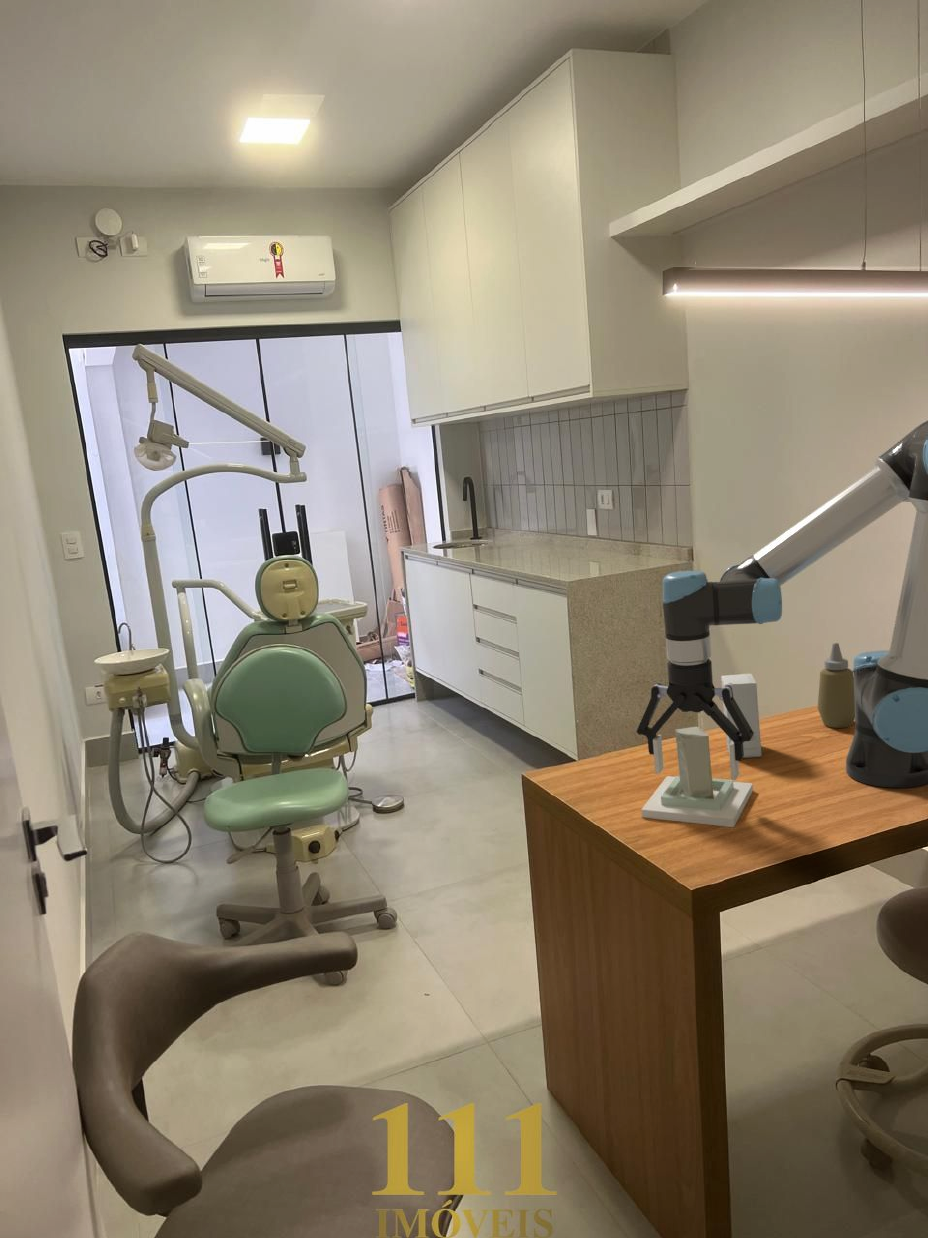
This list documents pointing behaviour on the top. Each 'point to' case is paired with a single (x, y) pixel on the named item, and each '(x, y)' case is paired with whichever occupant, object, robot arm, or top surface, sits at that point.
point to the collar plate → (699, 803)
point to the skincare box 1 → (694, 762)
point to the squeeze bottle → (836, 691)
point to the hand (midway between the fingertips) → (696, 774)
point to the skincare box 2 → (745, 709)
